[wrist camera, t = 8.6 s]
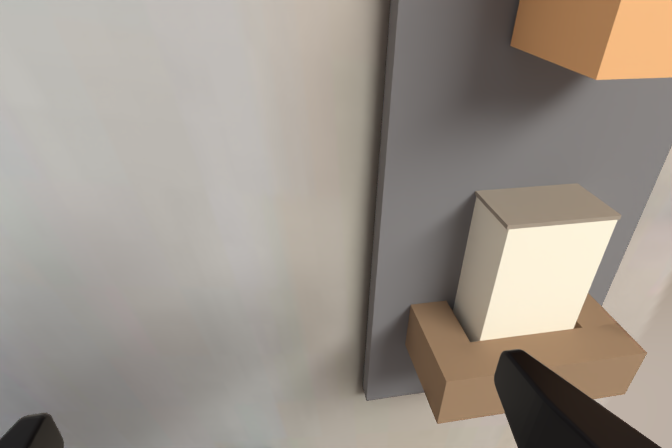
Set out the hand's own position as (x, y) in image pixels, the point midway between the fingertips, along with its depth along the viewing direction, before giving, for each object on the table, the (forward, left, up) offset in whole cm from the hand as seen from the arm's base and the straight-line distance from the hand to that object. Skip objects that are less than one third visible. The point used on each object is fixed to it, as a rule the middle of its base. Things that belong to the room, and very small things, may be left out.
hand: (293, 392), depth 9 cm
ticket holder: (-1, -12, -12) cm, 17 cm away
